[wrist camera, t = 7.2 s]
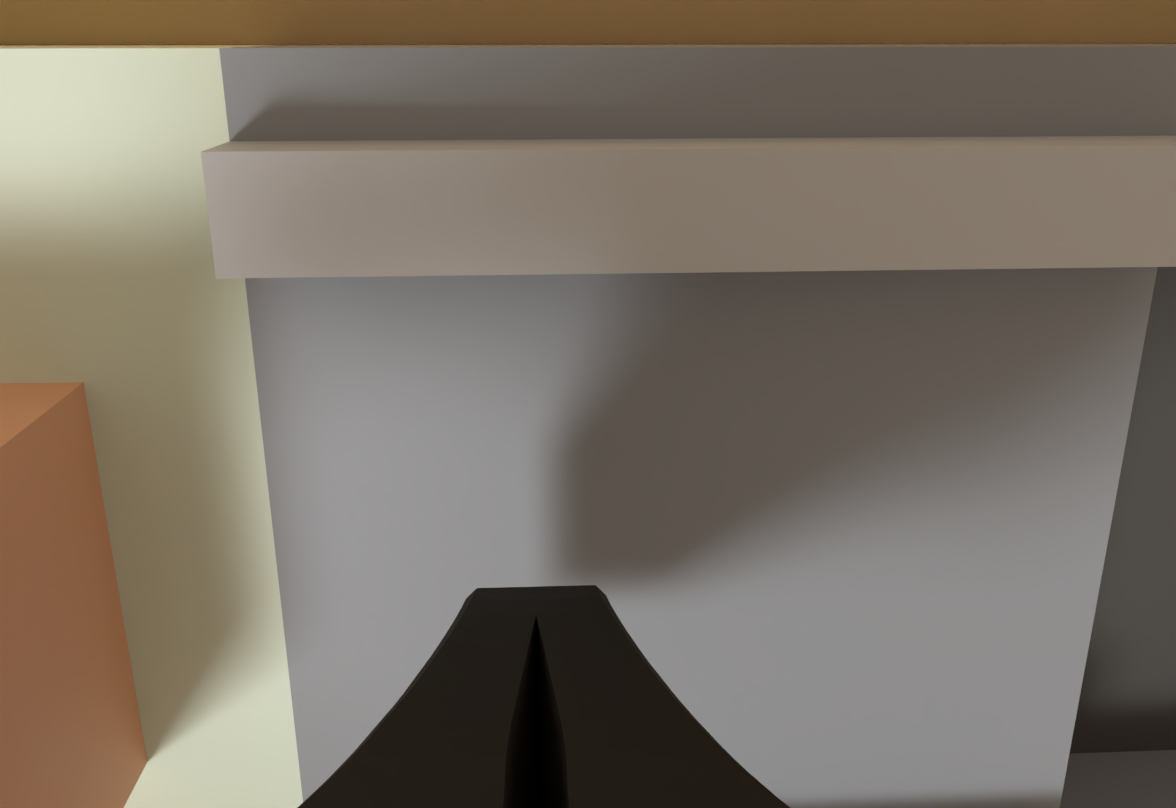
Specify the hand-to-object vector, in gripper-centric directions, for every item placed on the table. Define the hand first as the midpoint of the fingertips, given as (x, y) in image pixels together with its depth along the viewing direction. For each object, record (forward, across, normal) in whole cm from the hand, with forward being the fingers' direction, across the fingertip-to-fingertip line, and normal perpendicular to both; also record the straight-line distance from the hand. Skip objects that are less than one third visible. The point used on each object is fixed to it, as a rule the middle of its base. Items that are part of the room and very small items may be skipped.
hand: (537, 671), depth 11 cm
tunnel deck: (+4, -4, 0) cm, 6 cm away
